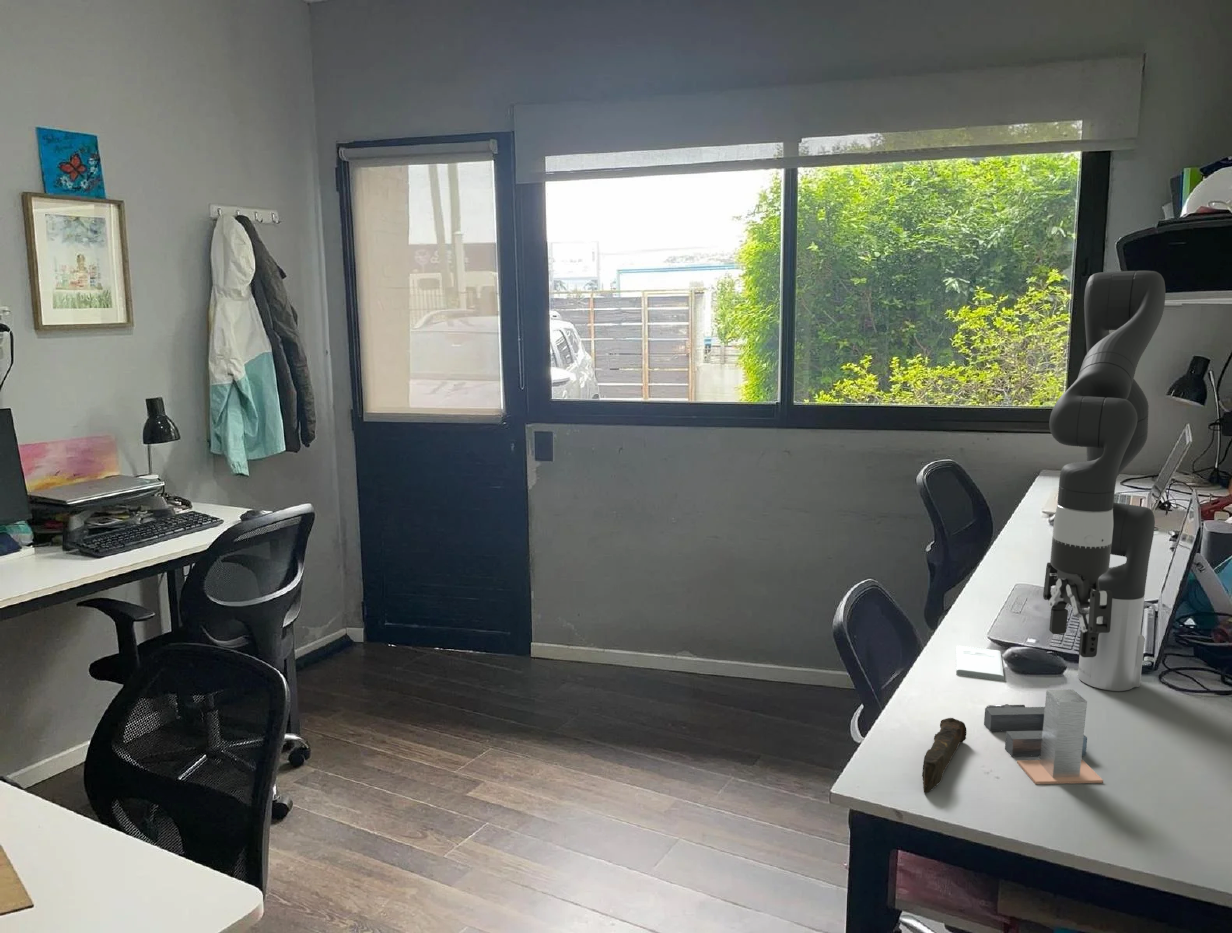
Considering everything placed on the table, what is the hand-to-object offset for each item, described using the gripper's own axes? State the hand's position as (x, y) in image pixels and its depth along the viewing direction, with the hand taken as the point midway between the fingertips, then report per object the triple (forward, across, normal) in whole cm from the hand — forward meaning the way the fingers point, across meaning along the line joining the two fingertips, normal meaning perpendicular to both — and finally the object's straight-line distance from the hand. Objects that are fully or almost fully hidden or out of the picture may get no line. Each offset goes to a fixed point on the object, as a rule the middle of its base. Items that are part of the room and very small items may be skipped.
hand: (1071, 644), depth 133 cm
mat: (+20, 0, 0) cm, 21 cm away
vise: (+21, +12, -1) cm, 24 cm away
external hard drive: (+22, +39, -4) cm, 45 cm away
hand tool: (+21, +2, +17) cm, 27 cm away
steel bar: (+20, 0, 0) cm, 20 cm away
